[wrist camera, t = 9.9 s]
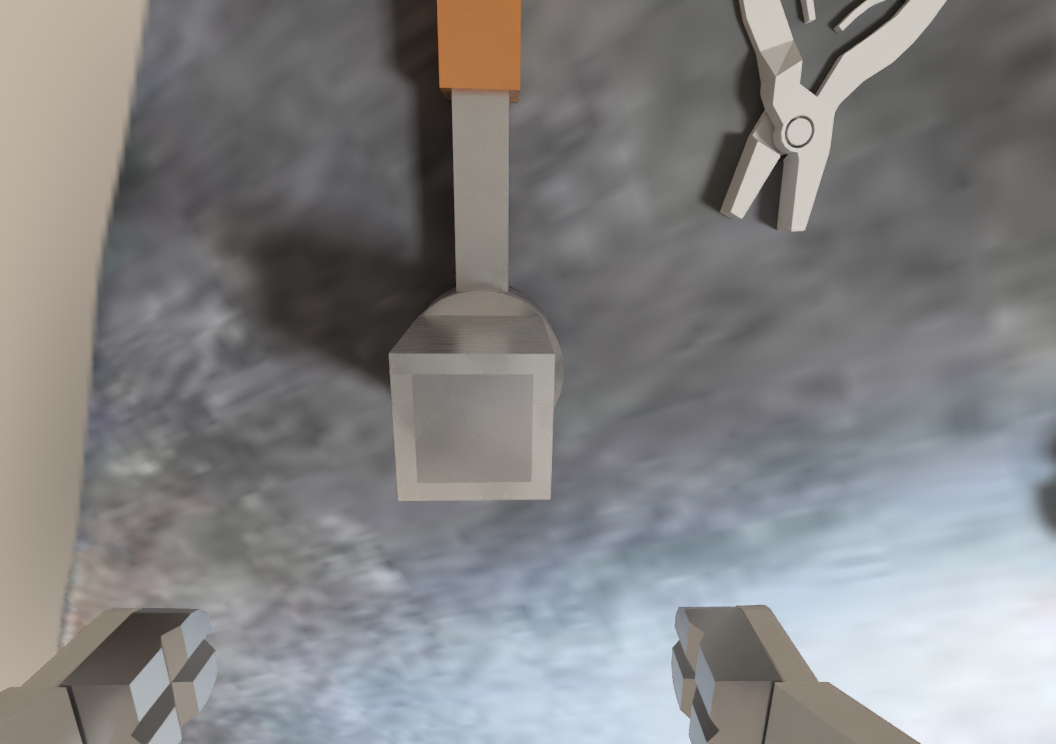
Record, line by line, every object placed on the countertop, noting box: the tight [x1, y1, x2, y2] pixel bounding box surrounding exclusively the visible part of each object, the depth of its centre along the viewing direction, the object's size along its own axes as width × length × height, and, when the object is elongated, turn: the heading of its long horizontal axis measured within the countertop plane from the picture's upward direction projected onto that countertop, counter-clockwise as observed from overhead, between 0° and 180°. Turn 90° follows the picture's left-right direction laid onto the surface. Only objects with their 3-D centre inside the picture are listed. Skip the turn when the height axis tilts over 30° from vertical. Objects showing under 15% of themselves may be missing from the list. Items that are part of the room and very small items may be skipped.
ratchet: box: [422, 0, 564, 409], centre depth 20 cm, size 22×7×6 cm, turn 179°
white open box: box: [389, 315, 555, 501], centre depth 19 cm, size 5×5×6 cm
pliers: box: [720, 0, 946, 231], centre depth 21 cm, size 10×2×15 cm
